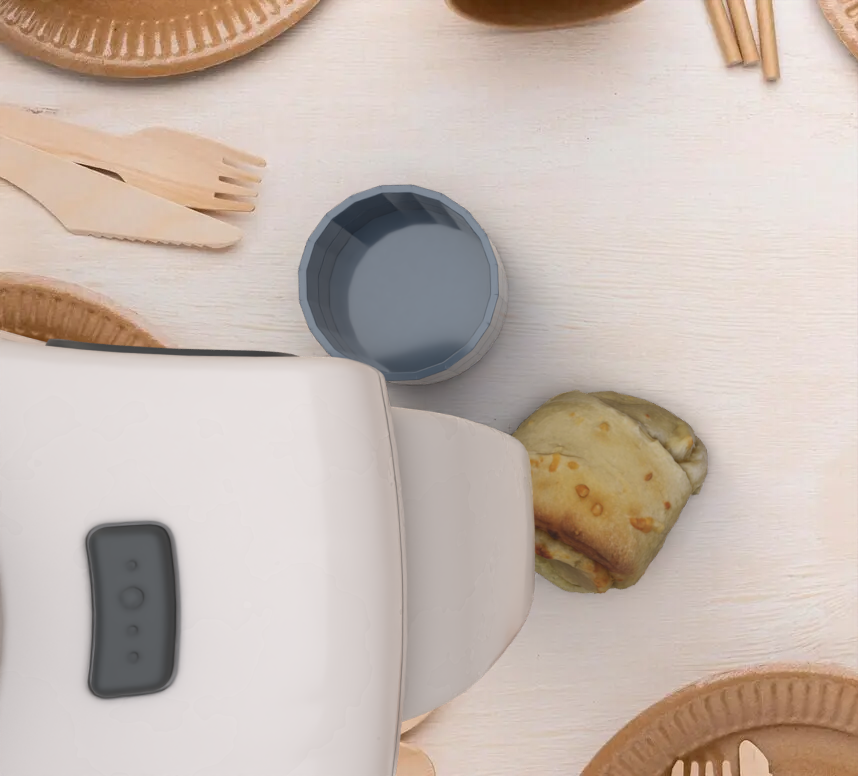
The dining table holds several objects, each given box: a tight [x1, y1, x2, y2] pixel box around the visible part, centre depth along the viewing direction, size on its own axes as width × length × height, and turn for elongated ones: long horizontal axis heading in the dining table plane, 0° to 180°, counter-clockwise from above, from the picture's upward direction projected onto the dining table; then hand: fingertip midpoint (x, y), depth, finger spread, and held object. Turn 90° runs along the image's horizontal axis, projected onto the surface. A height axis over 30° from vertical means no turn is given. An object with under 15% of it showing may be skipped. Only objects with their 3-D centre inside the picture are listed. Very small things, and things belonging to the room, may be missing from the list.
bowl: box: [297, 184, 509, 386], centre depth 64 cm, size 11×11×6 cm
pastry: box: [510, 389, 709, 595], centre depth 63 cm, size 14×12×8 cm
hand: (165, 523), depth 28 cm, fingers closed on bottle, 5 cm apart
